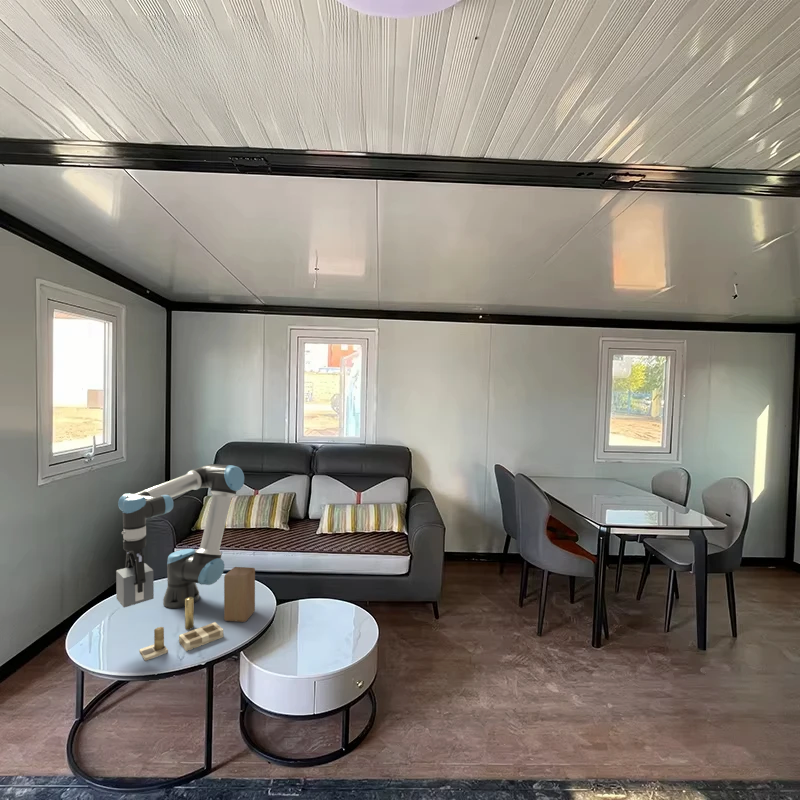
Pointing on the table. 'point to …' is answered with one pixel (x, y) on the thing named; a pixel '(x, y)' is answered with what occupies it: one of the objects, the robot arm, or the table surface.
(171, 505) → the robot arm
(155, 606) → the table surface
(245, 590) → the wooden block
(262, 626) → the table surface
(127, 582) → the block
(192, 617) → the pin
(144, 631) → the table surface
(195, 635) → the board
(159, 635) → the tan base with post
